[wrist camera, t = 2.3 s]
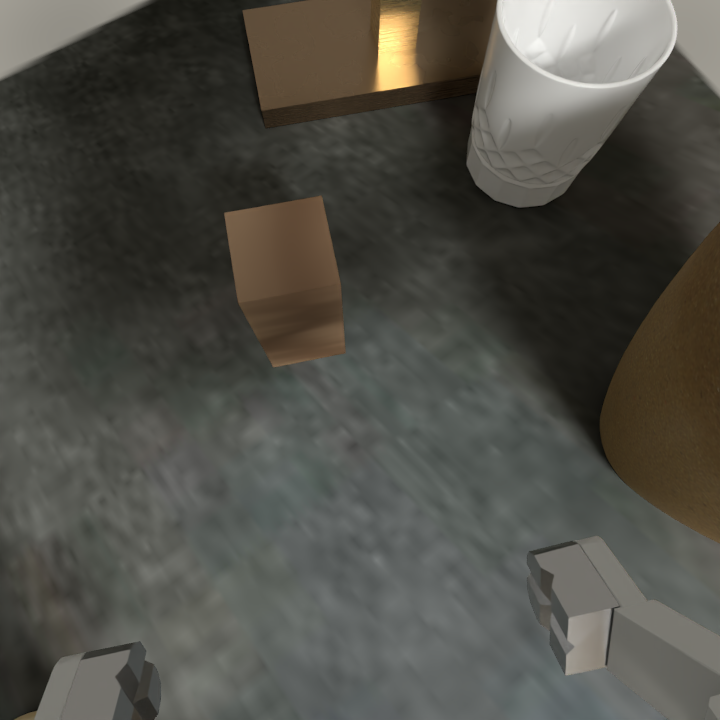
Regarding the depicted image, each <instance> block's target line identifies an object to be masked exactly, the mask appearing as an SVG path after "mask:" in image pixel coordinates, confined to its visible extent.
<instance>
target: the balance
mask: <svg viewBox="0 0 720 720" xmlns="http://www.w3.org/2000/svg"><path fill="white" fill-rule="evenodd" d="M496 3H497V0H307V1H300V2H294V3H287V4H281V5H274V6H268V7H261V8H255V9H248V10H243V16H244V21H245V26H246V32H247V37H248V42H249V47H250V53H251V58H252V63H253V68H254V74H255V79H256V84H257V90H258V95H259V100H260V105H261V111H262V115H263V119H264V124H265V128H271V127H277V126H283V125H289V124H295V123H301V122H307V121H313V120H319V119H325V118H331V117H336V116H342V115H348V114H354V113H360V112H366V111H372V110H378V109H384V108H390V107H396V106H402V105H408V104H414V103H420V102H426V101H432V100H438V99H444V98H449V97H455V96H461V95H467V94H473V93H477V89H478V84H479V79H480V75H481V71H482V66H483V62H484V57H485V53H486V49H487V44H488V40H489V35H490V31H491V26H492V22H493V17H494V13H495V8H496Z"/></svg>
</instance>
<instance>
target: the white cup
mask: <svg viewBox="0 0 720 720" xmlns="http://www.w3.org/2000/svg"><path fill="white" fill-rule="evenodd" d="M676 37H677V18H676V13H675V10H674V7H673V4H672V2H671V0H497V3H496V8H495V13H494V17H493V22H492V26H491V31H490V35H489V40H488V44H487V49H486V53H485V57H484V62H483V66H482V71H481V75H480V79H479V84H478V89H477V94H476V100H475V106H474V110H473V115H472V122H471V124H472V127H471V131H470V135H469V140H468V146H467V162H466V165H467V167H468V170H469V172H470V174H471V176H472V178H473V180H474V182H475V184H476V186H478V187H479V188H480V189H481V190H482V191H484V192H485V193H486V194H487V195H489V196H490V197H491V198H492V199H493V200H495V201H498V202H501V203H505V204H508V205H511V206H515V207H518V208H522V207H532V206H542V205H545V204H547V203H549V202H550V201H552V200H554V199H555V198H557V197H559V196H561V195H562V194H564V193H565V191H566V190H567V189H568V187H569V186H570V185H571V183H572V182H573V180H574V179H575V178H576V176H577V175H578V173H579V172H580V171H581V169H582V168H583V167H584V166H585V165H586V164H587V163H588V162H589V161H590V160H591V159H592V158H593V157H594V155H595V154H596V153H597V152H598V150H599V149H600V148H601V146H602V145H603V144H604V142H605V141H606V140H607V139H608V138H609V136H610V135H611V134H612V132H613V131H614V130H615V128H616V127H617V126H618V124H619V123H620V122H621V120H622V119H623V117H624V116H625V115H626V113H627V112H628V111H629V109H630V108H631V107H632V105H633V104H634V103H635V101H636V100H637V98H638V97H639V96H640V94H641V93H642V92H643V90H644V89H645V88H646V86H647V85H648V84H649V82H650V81H651V80H652V78H653V77H654V76H655V74H656V73H657V72H658V70H659V69H660V68H661V66H662V65H663V64H664V62H665V61H666V60H667V58H668V57H669V55H670V53H671V52H672V49H673V47H674V45H675V41H676Z"/></svg>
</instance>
